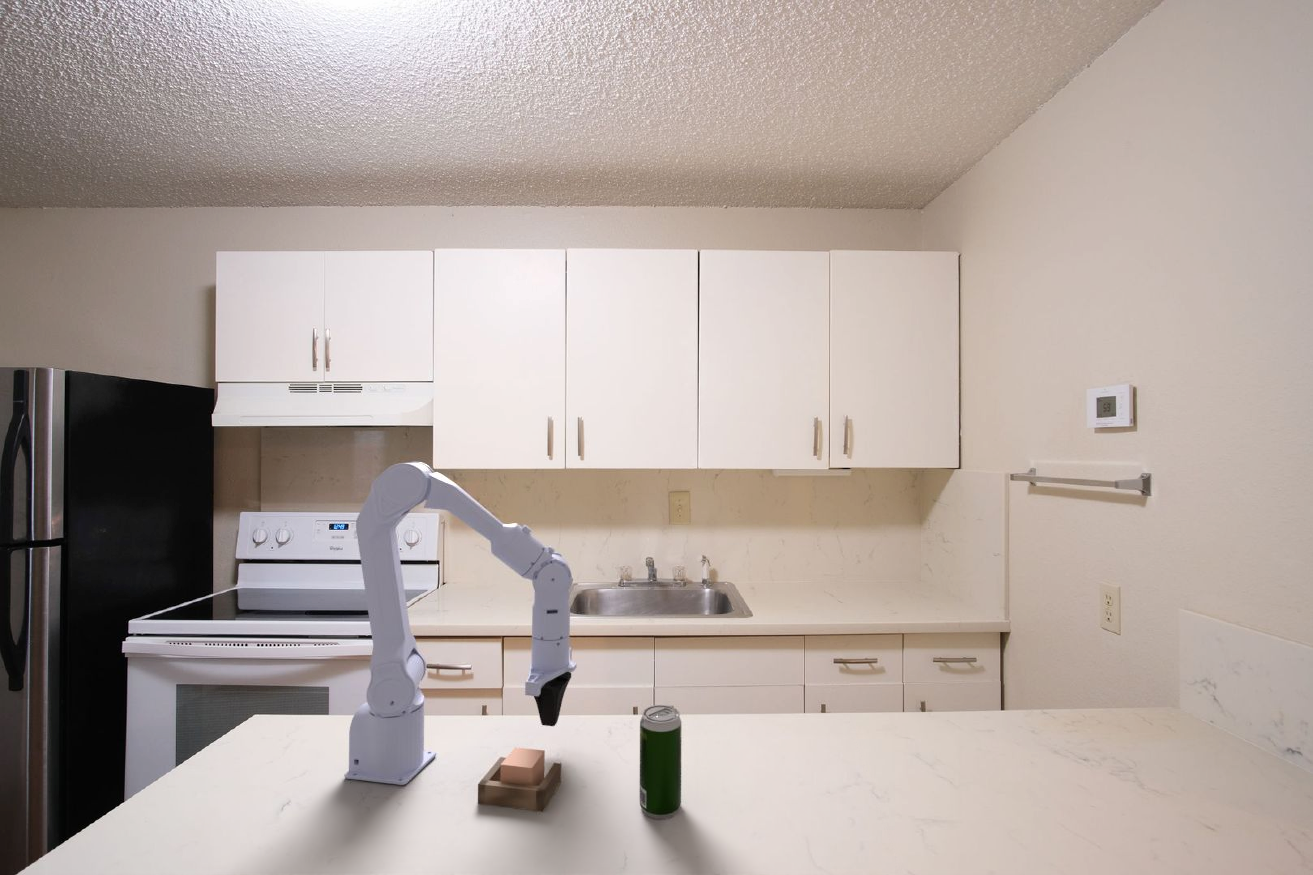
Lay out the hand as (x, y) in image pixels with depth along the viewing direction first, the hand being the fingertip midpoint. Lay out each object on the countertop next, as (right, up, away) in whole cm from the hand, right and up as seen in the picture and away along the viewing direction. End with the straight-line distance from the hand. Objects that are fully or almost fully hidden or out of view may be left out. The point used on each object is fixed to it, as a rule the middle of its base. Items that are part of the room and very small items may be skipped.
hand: (549, 723), depth 86 cm
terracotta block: (-2, -4, -10) cm, 11 cm away
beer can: (+17, -4, -14) cm, 22 cm away
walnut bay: (-2, -4, -11) cm, 12 cm away
